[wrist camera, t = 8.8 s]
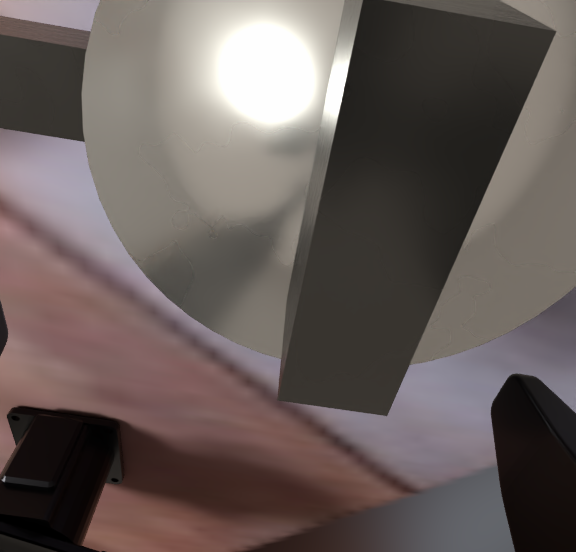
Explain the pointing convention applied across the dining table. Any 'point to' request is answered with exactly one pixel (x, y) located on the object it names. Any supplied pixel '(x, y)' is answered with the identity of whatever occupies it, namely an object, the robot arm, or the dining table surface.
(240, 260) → the lid
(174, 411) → the dining table surface
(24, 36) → the pot
